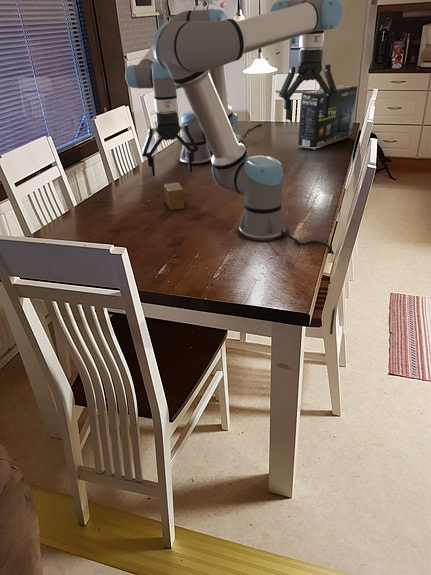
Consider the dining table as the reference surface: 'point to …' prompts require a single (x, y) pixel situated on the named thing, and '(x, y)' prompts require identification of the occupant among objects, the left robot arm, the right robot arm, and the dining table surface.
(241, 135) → the fossil
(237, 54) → the right robot arm
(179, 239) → the dining table surface
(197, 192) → the dining table surface
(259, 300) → the dining table surface
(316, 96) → the router box
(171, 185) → the brick
